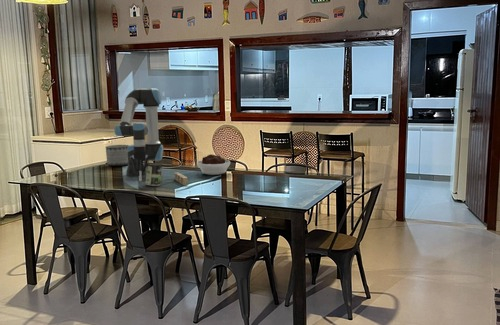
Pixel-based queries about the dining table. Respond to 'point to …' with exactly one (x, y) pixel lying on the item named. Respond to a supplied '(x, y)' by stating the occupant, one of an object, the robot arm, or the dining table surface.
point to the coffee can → (153, 174)
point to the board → (181, 178)
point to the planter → (117, 155)
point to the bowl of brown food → (213, 165)
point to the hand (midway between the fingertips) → (140, 180)
